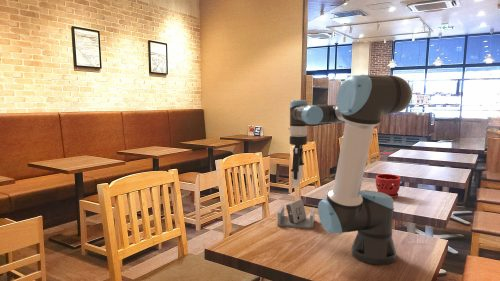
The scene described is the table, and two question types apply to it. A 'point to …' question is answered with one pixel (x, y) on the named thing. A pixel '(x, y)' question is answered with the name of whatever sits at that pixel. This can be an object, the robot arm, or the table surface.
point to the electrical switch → (296, 211)
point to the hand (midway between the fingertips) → (297, 182)
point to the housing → (304, 223)
